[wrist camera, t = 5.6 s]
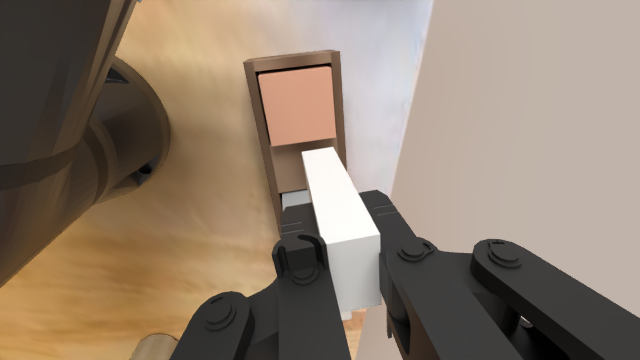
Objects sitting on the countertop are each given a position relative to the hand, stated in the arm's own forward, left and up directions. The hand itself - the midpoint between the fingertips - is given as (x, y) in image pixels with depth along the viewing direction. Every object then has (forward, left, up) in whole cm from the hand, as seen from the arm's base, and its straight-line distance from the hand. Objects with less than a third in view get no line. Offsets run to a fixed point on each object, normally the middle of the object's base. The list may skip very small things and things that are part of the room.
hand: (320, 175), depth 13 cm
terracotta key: (0, +1, -17) cm, 17 cm away
